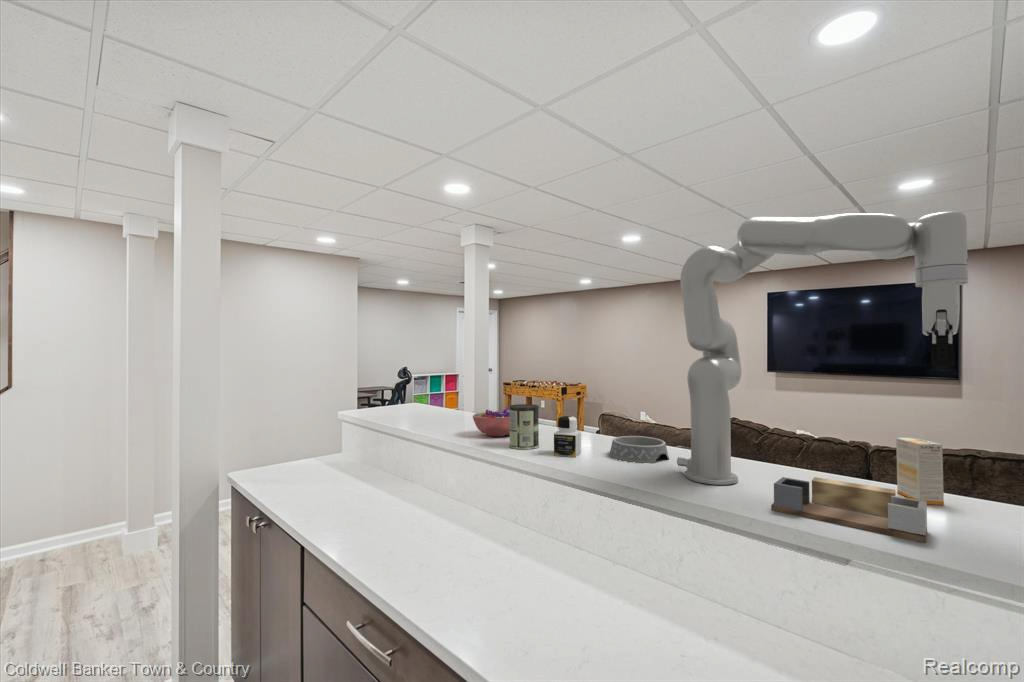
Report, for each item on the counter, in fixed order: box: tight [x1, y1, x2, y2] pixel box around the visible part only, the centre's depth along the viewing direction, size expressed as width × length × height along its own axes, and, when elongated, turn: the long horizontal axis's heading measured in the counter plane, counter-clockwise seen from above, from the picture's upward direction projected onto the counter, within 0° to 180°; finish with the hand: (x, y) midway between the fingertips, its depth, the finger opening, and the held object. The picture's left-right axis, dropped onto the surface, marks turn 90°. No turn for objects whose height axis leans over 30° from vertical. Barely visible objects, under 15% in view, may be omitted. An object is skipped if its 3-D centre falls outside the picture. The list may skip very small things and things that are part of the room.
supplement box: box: [895, 437, 945, 506], centre depth 104 cm, size 8×5×13 cm, turn 168°
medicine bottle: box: [553, 415, 582, 458], centre depth 148 cm, size 7×7×12 cm
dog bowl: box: [608, 435, 670, 464], centre depth 145 cm, size 17×18×5 cm
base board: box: [770, 502, 928, 544], centre depth 91 cm, size 24×7×1 cm, turn 46°
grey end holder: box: [773, 476, 811, 511], centre depth 97 cm, size 5×7×4 cm
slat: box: [811, 476, 897, 518], centre depth 98 cm, size 14×4×5 cm, turn 48°
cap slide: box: [887, 495, 928, 535], centre depth 84 cm, size 5×7×4 cm
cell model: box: [472, 405, 510, 437], centre depth 180 cm, size 17×20×11 cm
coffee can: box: [508, 403, 540, 451], centre depth 160 cm, size 10×10×14 cm
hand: (943, 365), depth 89 cm, fingers open, 9 cm apart
